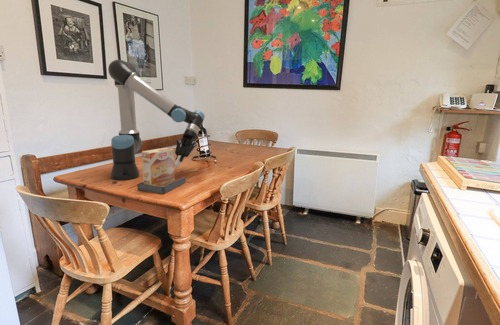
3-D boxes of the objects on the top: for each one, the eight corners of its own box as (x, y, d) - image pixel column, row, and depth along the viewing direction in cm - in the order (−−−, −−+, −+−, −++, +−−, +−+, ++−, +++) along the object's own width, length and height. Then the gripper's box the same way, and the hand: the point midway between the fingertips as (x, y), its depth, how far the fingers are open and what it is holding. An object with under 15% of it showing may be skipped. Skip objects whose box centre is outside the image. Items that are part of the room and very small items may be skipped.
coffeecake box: (151, 191, 141) (149, 153, 137) (143, 188, 145) (140, 151, 141) (175, 184, 153) (174, 148, 149) (167, 181, 157) (165, 147, 153)
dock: (137, 190, 143) (137, 184, 142) (161, 179, 162) (161, 174, 161) (163, 194, 138) (163, 188, 138) (185, 182, 157) (185, 177, 156)
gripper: (202, 137, 173) (189, 170, 161) (184, 136, 177) (169, 168, 165) (198, 129, 166) (183, 163, 155) (179, 128, 171) (163, 161, 159)
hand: (176, 166), depth 160 cm, fingers closed
